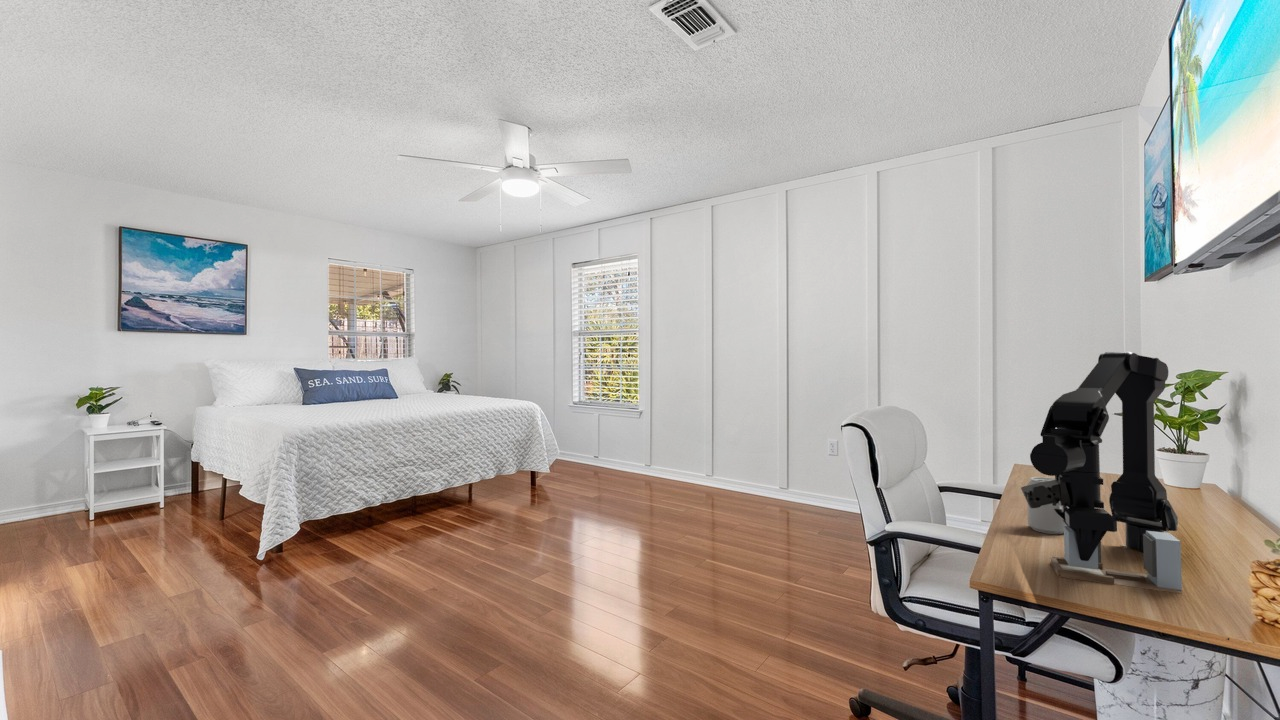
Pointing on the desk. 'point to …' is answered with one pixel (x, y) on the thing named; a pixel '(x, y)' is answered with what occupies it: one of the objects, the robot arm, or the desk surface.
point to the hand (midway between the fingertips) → (1081, 556)
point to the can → (1045, 514)
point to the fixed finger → (1162, 559)
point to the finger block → (1073, 554)
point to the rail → (1105, 575)
